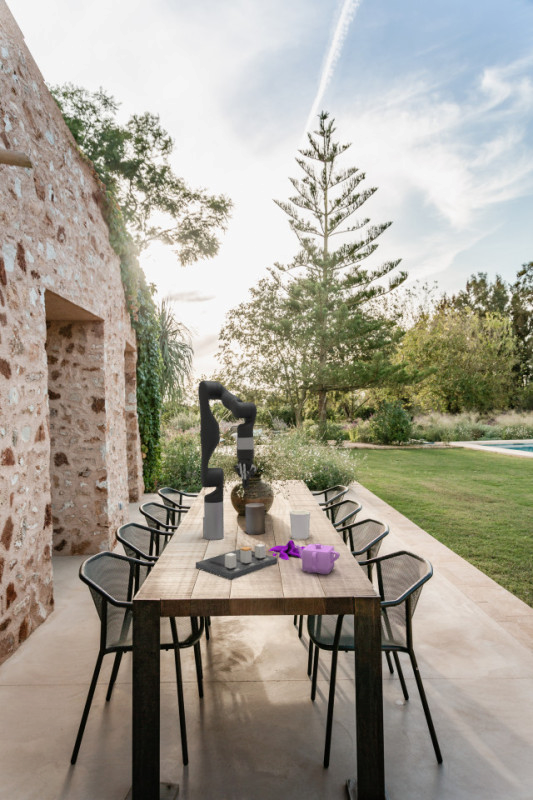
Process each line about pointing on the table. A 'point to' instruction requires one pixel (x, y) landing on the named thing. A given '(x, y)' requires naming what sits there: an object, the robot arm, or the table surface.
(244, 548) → the block
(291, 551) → the cloth
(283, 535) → the table surface
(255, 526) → the pillar candle
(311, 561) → the teapot
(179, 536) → the table surface
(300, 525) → the candle holder
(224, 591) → the table surface
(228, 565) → the breaker
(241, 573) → the panel
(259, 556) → the block
